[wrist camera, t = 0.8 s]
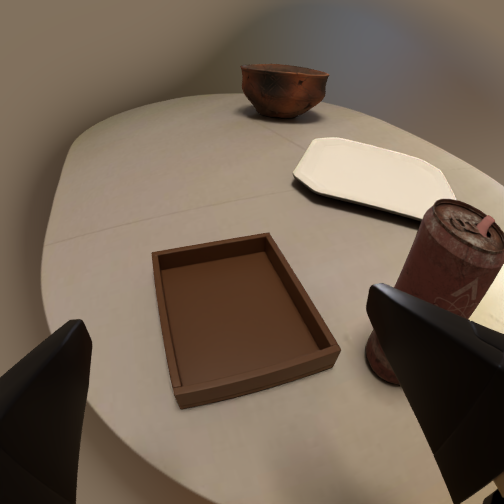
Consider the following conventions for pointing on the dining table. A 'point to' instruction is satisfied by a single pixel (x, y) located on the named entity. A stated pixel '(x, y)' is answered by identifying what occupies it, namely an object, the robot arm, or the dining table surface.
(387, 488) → the dining table surface
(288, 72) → the bowl
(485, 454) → the robot arm
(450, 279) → the can
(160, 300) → the tray
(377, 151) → the plate
